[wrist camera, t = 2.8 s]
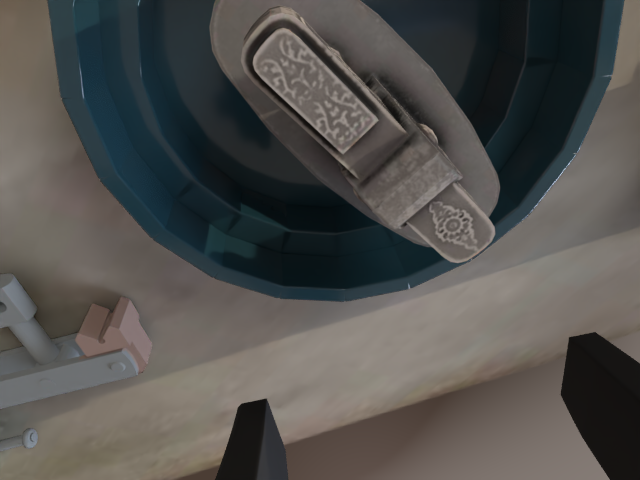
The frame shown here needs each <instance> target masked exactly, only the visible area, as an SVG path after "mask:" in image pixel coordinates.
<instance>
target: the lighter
mask: <svg viewBox="0 0 640 480" xmlns="http://www.w3.org/2000/svg"><path fill="white" fill-rule="evenodd" d="M209 28H210V36H211V44H212V51H213V53H214V55H215V57H216V59H217V61H218V63H219V65H220V67H221V69H222V70H223V72H224V73H225V74H226V76H227V77H228V78H229V79H230V81H231V82H232V83H233V84H234V86H235V87H236V88H237V90H238V91H239V92H240V93H241V95H242V96H243V97H244V99H245V100H246V101H247V102H248V104H249V105H250V106H251V108H252V109H253V110H254V111H255V113H256V114H257V115H258V116H259V118H260V119H261V120H262V122H263V123H264V124H265V125H266V127H267V128H268V129H269V130H270V131H271V132H272V133H273V134H274V135H275V136H276V137H277V138H278V140H279V141H280V142H281V143H282V144H283V145H284V146H285V147H286V148H287V149H288V150H289V151H290V152H291V153H292V154H293V155H294V156H295V157H296V158H297V159H298V160H299V161H300V162H301V163H302V164H303V165H304V166H305V167H306V168H307V169H308V170H309V171H310V172H311V173H312V174H313V175H314V176H315V177H316V178H317V179H318V180H320V181H321V182H322V183H324V184H325V185H326V186H328V187H329V188H330V189H332V190H333V191H334V192H336V193H337V194H338V195H340V196H341V197H342V198H344V199H345V200H346V201H348V202H349V203H350V204H352V205H353V206H354V207H356V208H357V209H358V210H360V211H361V212H362V213H364V214H365V215H366V216H368V217H369V218H371V219H373V220H375V221H376V222H378V223H380V224H382V225H384V226H385V227H387V228H389V229H391V230H392V231H394V232H396V233H398V234H399V235H401V236H403V237H405V238H406V239H408V240H410V241H412V242H414V243H416V244H419V245H422V246H426V247H433V248H434V249H435V250H436V251H437V252H438V253H439V254H440V255H441V256H443V257H444V258H445V259H447V260H448V261H450V262H455V263H461V262H465V261H467V260H469V259H471V258H472V257H474V256H476V255H477V254H478V253H480V252H481V251H482V250H483V249H485V248H486V247H487V246H488V245H489V244H490V243H491V242H492V240H493V238H494V236H495V227H494V225H493V224H492V222H491V221H490V219H489V216H490V215H491V213H492V211H493V209H494V208H495V206H496V204H497V201H498V196H499V192H500V184H499V180H498V175H497V173H496V171H495V169H494V167H493V165H492V163H491V161H490V159H489V157H488V155H487V153H486V151H485V149H484V147H483V146H482V144H481V142H480V140H479V138H478V136H477V134H476V132H475V130H474V128H473V126H472V124H471V123H470V121H469V120H468V118H467V117H466V116H465V114H464V113H463V111H462V110H461V109H460V107H459V106H458V104H457V103H456V102H455V100H454V99H453V97H452V96H451V95H450V93H449V92H448V90H447V89H446V88H445V86H444V85H443V83H442V82H441V80H440V79H439V78H438V76H437V75H436V73H435V72H434V71H433V69H432V68H431V67H430V66H429V65H428V64H427V63H426V62H425V61H424V60H423V59H422V58H421V57H420V56H419V55H418V54H417V53H416V52H415V51H414V50H413V49H412V48H411V47H410V46H409V45H408V44H407V43H406V42H405V41H404V40H403V39H402V38H401V37H400V36H399V35H398V34H397V33H396V32H395V31H394V30H393V29H392V28H391V27H390V26H389V25H388V24H387V23H386V22H385V21H384V20H383V19H382V18H381V17H380V16H379V15H378V14H377V13H376V12H374V11H373V10H372V9H371V8H369V7H368V6H367V5H365V4H364V3H363V2H362V1H360V0H216V1H215V3H214V7H213V12H212V17H211V22H210V27H209Z"/></svg>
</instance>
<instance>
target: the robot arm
mask: <svg viewBox="0 0 640 480" xmlns="http://www.w3.org/2000/svg"><path fill="white" fill-rule="evenodd" d="M561 396H562V398H563V400H564V402H565V404H566V406H567V409H568V410H569V413H570V415H571V417H572V419H573V421H574V423H575V424H576V426H577V428H578V430H579V432H580V434H581V436H582V438H583V439H584V441H585V442H586V444H587V445H588V447H589V448H590V450H591V451H592V453H593V455H594V456H595V457H596V459H597V461H598V462H599V464H600V465H601V467H602V468H603V470H604V471H605V473H606V474H607V476H608V477H609V479H610V480H640V363H638V362H637V361H636V360H634V359H633V358H631V357H630V356H628V355H627V354H626V353H624V352H623V351H621V350H620V349H619V348H617V347H616V346H614V345H613V344H611V343H610V342H609V341H607V340H606V339H604V338H603V337H601V336H600V335H598V334H597V333H596V332H594V333H589V334H584V335H579V336H574V337H569V343H568V349H567V356H566V362H565V369H564V376H563V383H562V389H561ZM215 480H288V472H287V462H286V451H285V448H284V445H283V442H282V439H281V437H280V434H279V431H278V428H277V426H276V423H275V420H274V417H273V415H272V412H271V409H270V406H269V404H268V401H267V399H262V400H257V401H253V402H248V403H243V404H241V405H240V406H239V407H238V410H237V413H236V417H235V421H234V424H233V428H232V431H231V435H230V438H229V441H228V444H227V447H226V450H225V453H224V456H223V459H222V462H221V465H220V468H219V471H218V473H217V476H216V479H215Z"/></svg>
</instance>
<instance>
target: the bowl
mask: <svg viewBox="0 0 640 480" xmlns="http://www.w3.org/2000/svg"><path fill="white" fill-rule="evenodd" d="M215 1H216V0H47V2H48V9H49V16H50V24H51V31H52V38H53V45H54V53H55V60H56V67H57V75H58V82H59V89H60V96H61V98H62V101H63V104H64V106H65V108H66V110H67V112H68V114H69V116H70V119H71V121H72V123H73V125H74V127H75V129H76V131H77V133H78V136H79V138H80V140H81V142H82V144H83V146H84V148H85V151H86V153H87V155H88V157H89V159H90V161H91V163H92V165H93V168H94V170H95V172H96V174H97V176H98V178H99V179H100V181H101V182H102V183H103V185H104V186H105V187H106V188H107V189H108V190H109V191H110V192H111V194H112V195H113V196H114V197H115V198H116V199H117V200H118V201H119V203H120V204H121V205H122V206H123V207H124V208H125V209H126V210H127V212H128V213H129V214H130V215H131V216H132V217H133V218H134V219H135V221H136V222H137V223H138V224H139V225H140V226H141V227H142V228H143V230H144V231H145V232H146V233H147V234H148V235H149V236H150V237H151V238H153V240H154V241H156V242H157V243H159V244H160V245H162V246H164V247H165V248H167V249H168V250H170V251H171V252H173V253H175V254H176V255H178V256H179V257H181V258H182V259H184V260H186V261H187V262H189V263H190V264H192V265H193V266H195V267H197V268H198V269H200V270H201V271H203V272H204V273H206V274H207V275H209V276H211V277H214V278H215V279H217V280H220V281H224V282H227V283H230V284H233V285H237V286H240V287H243V288H246V289H249V290H253V291H256V292H259V293H262V294H265V295H269V296H272V297H275V298H280V299H296V300H317V301H338V302H344V301H352V300H357V299H362V298H367V297H372V296H377V295H382V294H387V293H392V292H397V291H402V290H407V289H409V288H413V287H415V286H417V285H420V284H422V283H424V282H426V281H428V280H430V279H433V278H435V277H437V276H439V275H441V274H443V273H445V272H448V271H450V270H452V269H454V268H456V267H458V266H461V265H463V264H465V263H467V262H469V261H471V259H474V258H476V257H477V256H478V255H479V254H481V253H482V252H483V251H484V250H486V249H487V248H488V247H489V246H491V245H492V244H493V243H495V242H496V241H497V240H498V239H500V238H501V237H502V236H503V235H505V234H506V233H507V232H508V231H510V230H511V229H512V228H514V227H515V226H516V225H517V224H519V223H520V222H521V221H522V220H524V219H525V218H526V217H527V216H528V214H530V213H531V212H532V211H533V210H534V208H535V207H536V206H537V205H538V203H539V202H540V201H541V200H542V198H543V197H544V196H545V194H546V193H547V192H548V191H549V189H550V188H551V187H552V186H553V184H554V183H555V182H556V180H557V179H558V178H559V177H560V175H561V174H562V173H563V172H564V170H565V169H566V168H567V166H568V165H569V164H570V163H571V161H572V160H573V159H574V158H575V156H576V153H578V151H579V149H580V147H581V145H582V143H583V140H584V138H585V136H586V134H587V131H588V129H589V127H590V125H591V123H592V120H593V118H594V116H595V114H596V111H597V109H598V107H599V105H600V102H601V100H602V98H603V96H604V94H605V91H606V89H607V87H608V85H609V82H610V80H611V75H612V74H613V69H614V63H615V56H616V50H617V44H618V38H619V31H620V25H621V19H622V13H623V6H624V0H360V1H362V2H363V3H364V4H365V5H367V6H368V7H369V8H371V9H372V10H373V11H374V12H376V13H377V14H378V15H379V16H380V17H381V18H382V19H383V20H384V21H385V22H386V23H387V24H388V25H389V26H390V27H391V28H392V29H393V30H394V31H395V32H396V33H397V34H398V35H399V36H400V37H401V38H402V39H403V40H404V41H405V42H406V43H407V44H408V45H409V46H410V47H411V48H412V49H413V50H414V51H415V52H416V53H417V54H418V55H419V56H420V57H421V58H422V59H423V60H424V61H425V62H426V63H427V64H428V65H429V66H430V67H431V68H432V69H433V71H434V72H435V73H436V75H437V76H438V78H439V79H440V80H441V82H442V83H443V85H444V86H445V88H446V89H447V90H448V92H449V93H450V95H451V96H452V97H453V99H454V100H455V102H456V103H457V104H458V106H459V107H460V109H461V110H462V111H463V113H464V114H465V116H466V117H467V118H468V120H469V121H470V123H471V124H472V126H473V128H474V130H475V132H476V134H477V136H478V138H479V140H480V142H481V144H482V146H483V147H484V149H485V151H486V153H487V155H488V157H489V159H490V161H491V163H492V165H493V167H494V169H495V171H496V173H497V175H498V180H499V184H500V192H499V196H498V201H497V204H496V206H495V208H494V209H493V211H492V213H491V215H490V216H489V219H490V221H491V222H492V224H493V225H494V227H495V236H494V238H493V240H492V242H491V243H490V244H489V245H488V246H487V247H486V248H485V249H483V250H482V251H481V252H480V253H478V254H477V255H476V256H474V257H472V258H471V259H469V260H467V261H465V262H461V263H455V262H450V261H448V260H447V259H445V258H444V257H443V256H441V255H440V254H439V253H438V252H437V251H436V250H435V249H434V248H433V247H426V246H422V245H419V244H416V243H414V242H412V241H410V240H408V239H406V238H405V237H403V236H401V235H399V234H398V233H396V232H394V231H392V230H391V229H389V228H387V227H385V226H384V225H382V224H380V223H378V222H376V221H375V220H373V219H371V218H369V217H368V216H366V215H365V214H364V213H362V212H361V211H360V210H358V209H357V208H356V207H354V206H353V205H352V204H350V203H349V202H348V201H346V200H345V199H344V198H342V197H341V196H340V195H338V194H337V193H336V192H334V191H333V190H332V189H330V188H329V187H328V186H326V185H325V184H324V183H322V182H321V181H320V180H318V179H317V178H316V177H315V176H314V175H313V174H312V173H311V172H310V171H309V170H308V169H307V168H306V167H305V166H304V165H303V164H302V163H301V162H300V161H299V160H298V159H297V158H296V157H295V156H294V155H293V154H292V153H291V152H290V151H289V150H288V149H287V148H286V147H285V146H284V145H283V144H282V143H281V142H280V141H279V140H278V138H277V137H276V136H275V135H274V134H273V133H272V132H271V131H270V130H269V129H268V128H267V127H266V125H265V124H264V123H263V122H262V120H261V119H260V118H259V116H258V115H257V114H256V113H255V111H254V110H253V109H252V108H251V106H250V105H249V104H248V102H247V101H246V100H245V99H244V97H243V96H242V95H241V93H240V92H239V91H238V90H237V88H236V87H235V86H234V84H233V83H232V82H231V81H230V79H229V78H228V77H227V76H226V74H225V73H224V72H223V70H222V69H221V67H220V65H219V63H218V61H217V59H216V57H215V55H214V53H213V51H212V44H211V36H210V28H209V27H210V22H211V17H212V12H213V7H214V3H215Z"/></svg>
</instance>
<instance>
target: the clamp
mask: <svg viewBox="0 0 640 480" xmlns="http://www.w3.org/2000/svg"><path fill="white" fill-rule="evenodd" d="M36 311H37V306H36V305H35V303H34V302H33V301H32V299H31V298H30V296H29V295H28V294H27V292H26V291H25V290H24V288H23V287H22V286H21V284H20V283H19V282H18V280H17V279H16V278H15V276H14V275H13V274H12V273H9V274H0V328H3V327H7V326H8V327H9V329H10V330H11V331H12V332H13V333H14V335H15V336H16V337H17V338H18V340H19V341H20V342H21V343H22V345H23V347H19V348H15V349H11V350H7V351H3V352H0V409H2V408H6V407H11V406H15V405H19V404H23V403H27V402H31V401H35V400H39V399H43V398H48V397H52V396H56V395H60V394H66V393H68V392H72V391H76V390H80V389H84V388H89V387H93V386H97V385H101V384H105V383H109V382H113V381H117V380H121V379H126V378H130V377H134V376H137V374H139V373H142V372H143V371H144V369H145V367H146V366H147V363H148V359H149V356H150V352H151V348H152V343H151V341H150V339H149V338H148V336H147V334H146V333H145V331H144V329H143V328H142V326H141V324H140V323H139V321H138V320H139V317H140V315H139V314H138V312H137V310H136V309H135V307H134V305H133V304H132V302H131V300H130V299H128V298H125V297H122V296H121V297H120V299H119V301H118V303H117V305H116V306H115V309H114V311H113V313H111V312H110V309H107V308H104V307H101V306H98V305H96V304H91V306H90V308H89V310H88V313H87V315H86V317H85V319H84V321H83V323H82V326H81V328H80V330H79V332H78V333H75V334H71V335H67V336H63V337H59V338H55V339H50V337H49V336H48V335H47V333H46V332H45V331H44V330H43V328H42V327H41V326H40V324H39V323H38V322H37V320H36V319H35V318H34V314H35V313H36ZM37 440H38V435H37V432H36V431H35V430H34V429H32V428H29V429H26V430H25V431H24V433H23V435H20V436H16V437H12V438H8V439H4V440H0V451H3V450H7V449H11V448H15V447H19V446H24V447H25V448H32V447H34V446H35V445H36V443H37Z"/></svg>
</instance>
